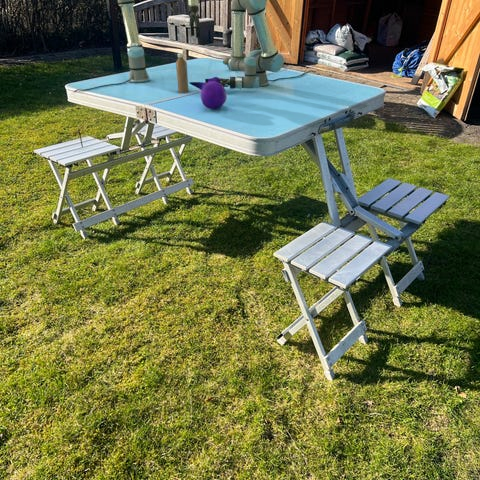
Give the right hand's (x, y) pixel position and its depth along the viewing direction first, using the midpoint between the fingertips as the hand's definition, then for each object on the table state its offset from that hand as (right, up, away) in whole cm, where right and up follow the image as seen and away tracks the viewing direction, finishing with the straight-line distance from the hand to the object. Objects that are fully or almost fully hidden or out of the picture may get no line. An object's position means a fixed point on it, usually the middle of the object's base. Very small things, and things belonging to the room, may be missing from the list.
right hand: (204, 82), depth 299 cm
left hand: (-10, +51, +46) cm, 70 cm away
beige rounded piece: (+20, +36, +73) cm, 84 cm away
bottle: (-15, -4, +6) cm, 16 cm away
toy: (+6, -26, -32) cm, 41 cm away
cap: (-15, +17, -6) cm, 23 cm away
